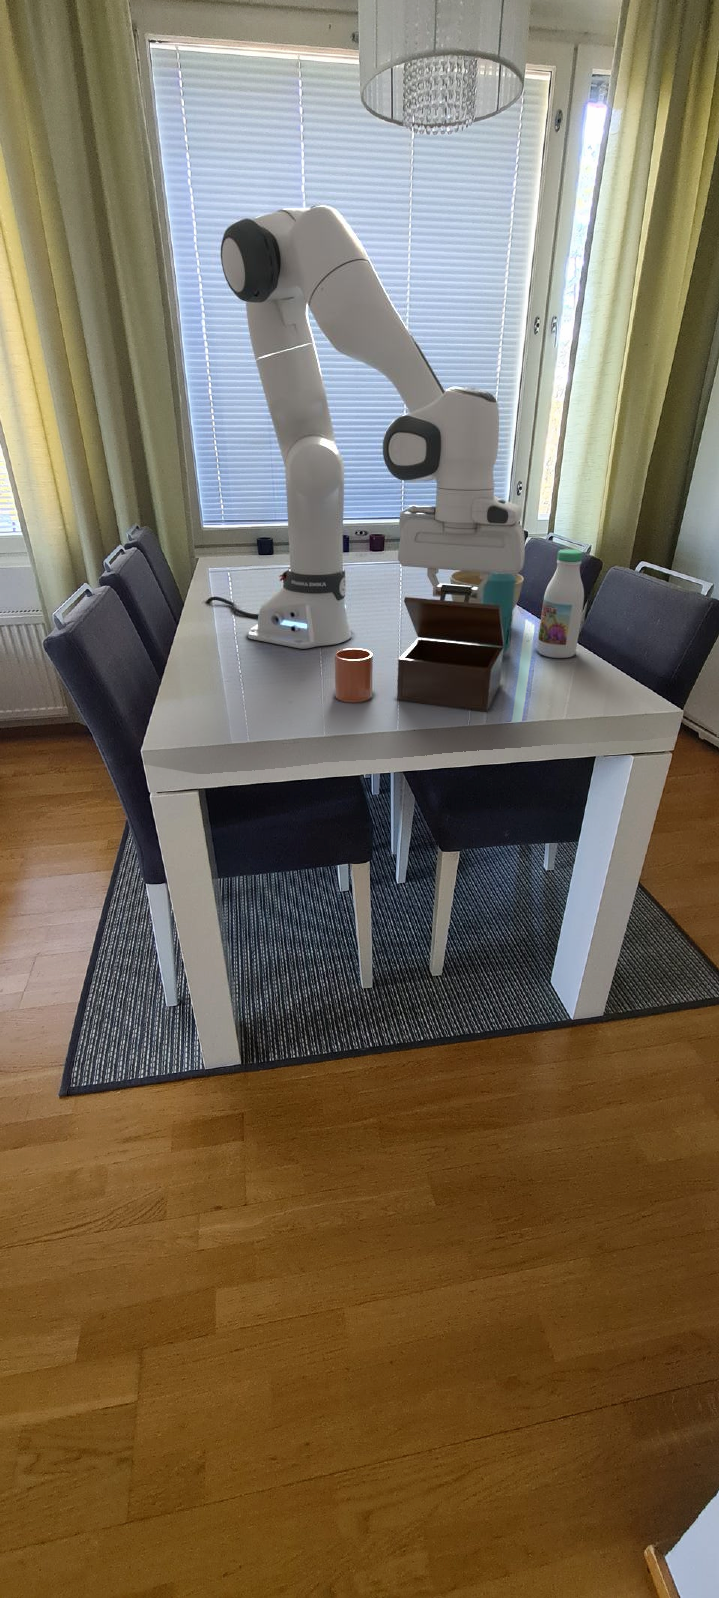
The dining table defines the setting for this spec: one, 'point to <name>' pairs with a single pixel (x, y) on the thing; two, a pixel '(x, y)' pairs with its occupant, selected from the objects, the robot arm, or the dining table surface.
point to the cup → (353, 675)
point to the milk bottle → (562, 608)
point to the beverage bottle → (501, 600)
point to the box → (450, 674)
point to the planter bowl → (473, 580)
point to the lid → (456, 618)
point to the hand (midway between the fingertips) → (457, 597)
